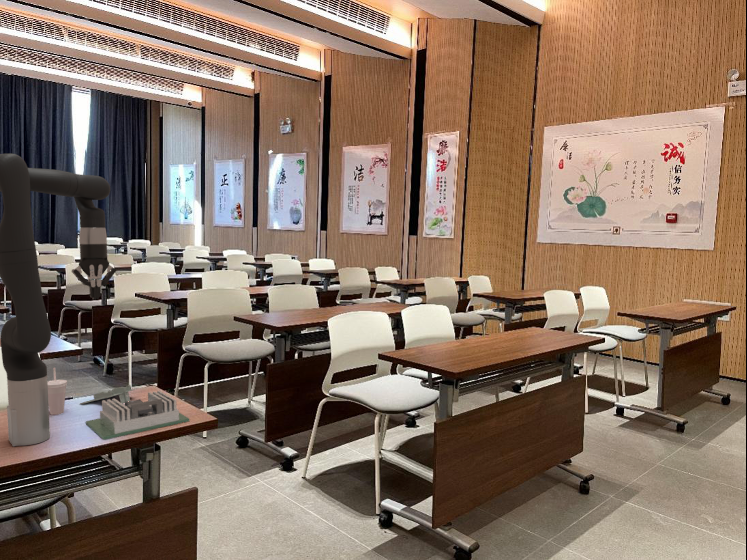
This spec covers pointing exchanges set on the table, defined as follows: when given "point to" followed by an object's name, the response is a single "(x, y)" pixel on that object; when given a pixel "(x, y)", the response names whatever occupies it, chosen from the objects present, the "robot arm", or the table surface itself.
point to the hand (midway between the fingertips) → (95, 298)
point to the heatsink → (136, 416)
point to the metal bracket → (116, 391)
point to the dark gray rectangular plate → (140, 409)
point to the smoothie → (56, 395)
